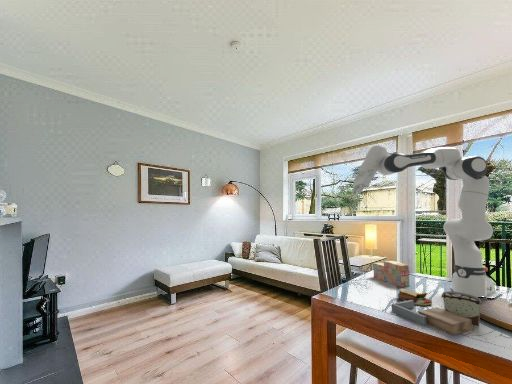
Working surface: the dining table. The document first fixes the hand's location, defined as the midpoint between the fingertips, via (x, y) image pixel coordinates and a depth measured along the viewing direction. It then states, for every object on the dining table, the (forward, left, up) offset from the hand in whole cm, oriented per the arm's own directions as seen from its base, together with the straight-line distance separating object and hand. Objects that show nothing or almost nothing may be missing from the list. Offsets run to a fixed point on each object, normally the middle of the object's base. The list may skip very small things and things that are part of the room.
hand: (356, 193), depth 135 cm
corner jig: (+1, +33, -53) cm, 63 cm away
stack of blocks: (-31, -6, -53) cm, 62 cm away
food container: (-11, +43, -53) cm, 69 cm away
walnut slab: (0, +43, -53) cm, 68 cm away
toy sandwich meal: (-13, +22, -53) cm, 59 cm away
